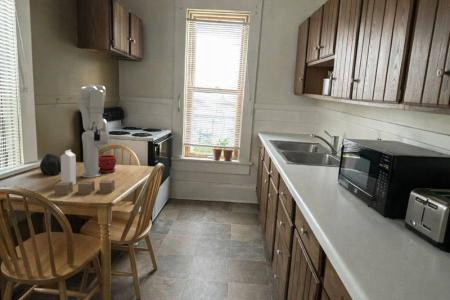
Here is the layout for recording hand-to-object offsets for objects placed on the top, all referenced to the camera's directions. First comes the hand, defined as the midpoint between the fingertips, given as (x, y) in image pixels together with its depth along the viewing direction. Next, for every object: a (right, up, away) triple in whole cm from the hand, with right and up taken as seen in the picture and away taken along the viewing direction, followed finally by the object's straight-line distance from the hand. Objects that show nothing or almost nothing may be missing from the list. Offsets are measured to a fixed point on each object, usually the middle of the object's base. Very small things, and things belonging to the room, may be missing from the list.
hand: (97, 140), depth 185 cm
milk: (-20, -28, +5) cm, 34 cm away
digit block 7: (+7, -30, -2) cm, 31 cm away
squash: (-43, -23, +28) cm, 56 cm away
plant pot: (-11, -22, +42) cm, 49 cm away
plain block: (-3, -31, -7) cm, 32 cm away
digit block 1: (-14, -31, -12) cm, 36 cm away
